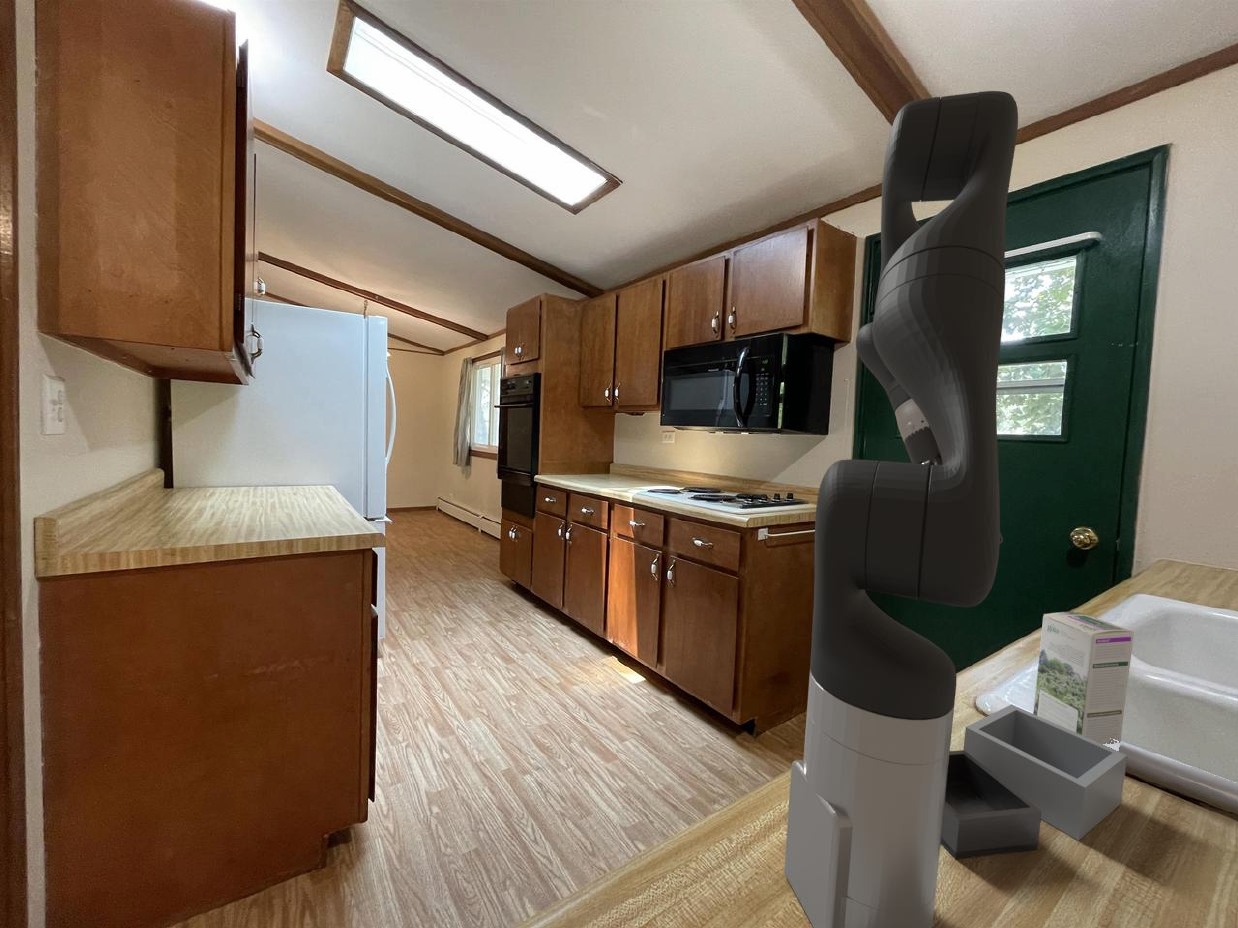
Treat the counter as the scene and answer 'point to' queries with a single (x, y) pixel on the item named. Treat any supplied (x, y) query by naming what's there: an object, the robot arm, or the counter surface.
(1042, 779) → the light gray open bin
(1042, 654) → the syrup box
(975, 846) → the bin
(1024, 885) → the counter surface
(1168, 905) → the counter surface
